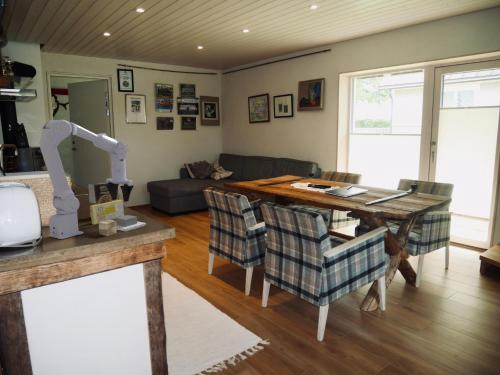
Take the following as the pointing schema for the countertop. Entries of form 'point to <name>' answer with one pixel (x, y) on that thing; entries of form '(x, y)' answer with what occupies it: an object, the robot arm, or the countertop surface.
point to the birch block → (107, 227)
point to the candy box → (106, 211)
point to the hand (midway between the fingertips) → (120, 200)
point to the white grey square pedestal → (128, 223)
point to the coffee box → (99, 194)
